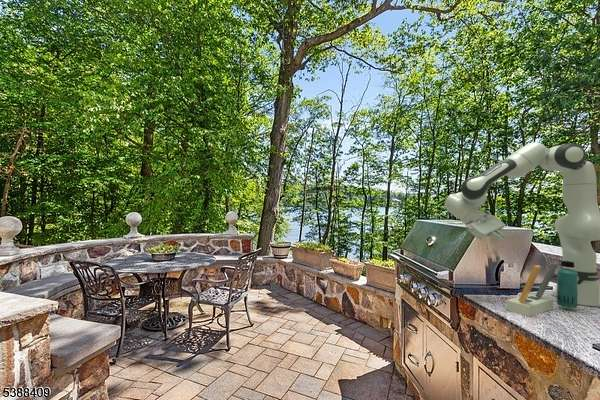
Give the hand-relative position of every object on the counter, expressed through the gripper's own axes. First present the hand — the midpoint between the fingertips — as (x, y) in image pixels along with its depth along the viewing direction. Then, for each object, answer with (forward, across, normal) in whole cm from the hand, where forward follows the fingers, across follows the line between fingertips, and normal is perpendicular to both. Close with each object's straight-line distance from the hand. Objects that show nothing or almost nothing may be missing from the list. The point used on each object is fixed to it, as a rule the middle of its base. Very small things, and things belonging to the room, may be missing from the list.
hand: (503, 239), depth 125 cm
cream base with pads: (+24, -3, +17) cm, 30 cm away
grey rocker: (+23, +5, +15) cm, 27 cm away
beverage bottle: (+32, +11, +15) cm, 37 cm away
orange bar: (+20, -9, +13) cm, 26 cm away
